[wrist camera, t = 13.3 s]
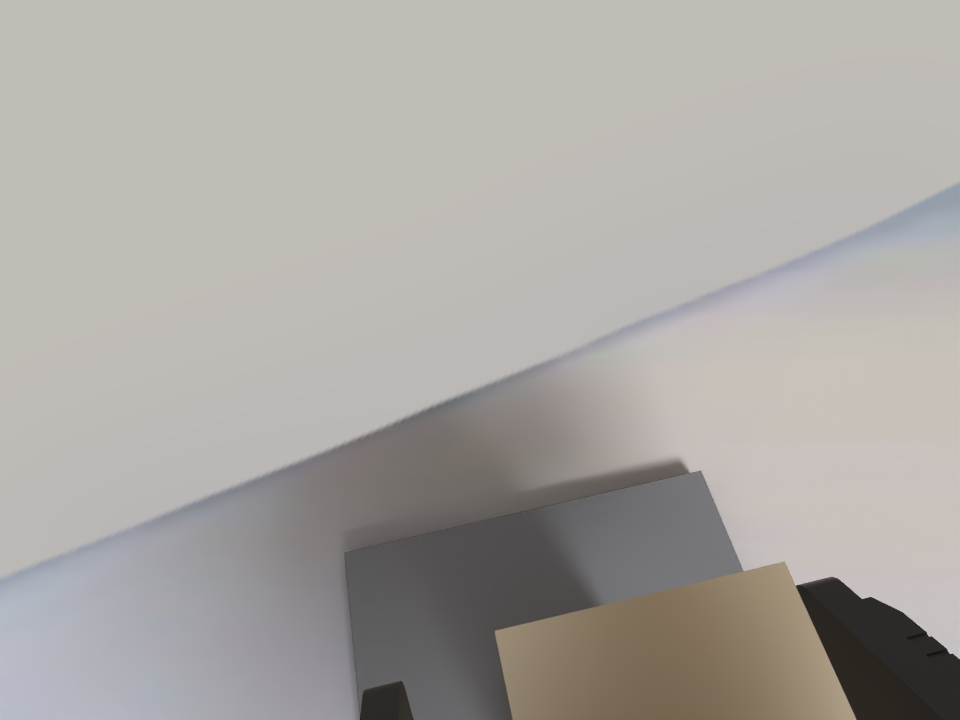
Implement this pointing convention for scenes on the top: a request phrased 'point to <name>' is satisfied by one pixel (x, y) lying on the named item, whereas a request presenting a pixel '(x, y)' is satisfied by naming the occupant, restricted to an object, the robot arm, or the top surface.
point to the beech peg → (677, 657)
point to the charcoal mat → (519, 586)
